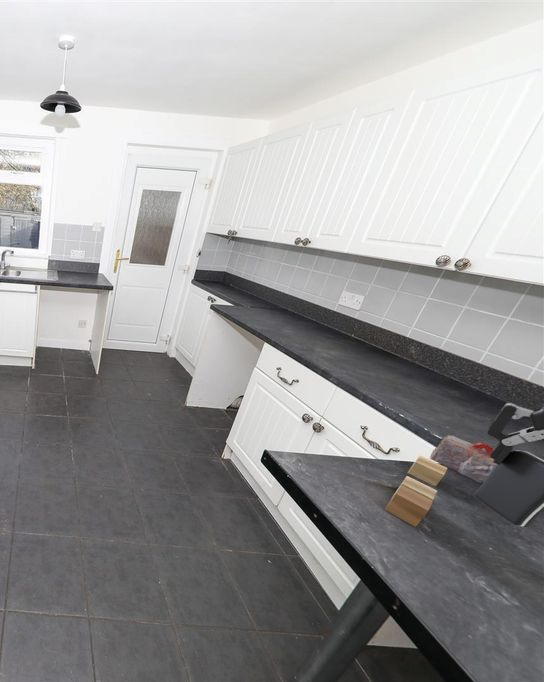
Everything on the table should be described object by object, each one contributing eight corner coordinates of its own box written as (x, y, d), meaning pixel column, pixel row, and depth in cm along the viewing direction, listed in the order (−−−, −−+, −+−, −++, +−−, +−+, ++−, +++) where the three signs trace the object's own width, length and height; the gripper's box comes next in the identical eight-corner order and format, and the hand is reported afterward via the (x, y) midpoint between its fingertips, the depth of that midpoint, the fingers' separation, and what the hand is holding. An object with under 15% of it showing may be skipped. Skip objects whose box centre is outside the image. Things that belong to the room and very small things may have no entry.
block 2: (396, 491, 81) (407, 475, 79) (425, 506, 77) (437, 490, 75) (390, 499, 78) (402, 483, 76) (421, 515, 74) (433, 499, 72)
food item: (505, 487, 86) (532, 458, 82) (501, 499, 82) (529, 468, 78) (430, 454, 96) (450, 426, 93) (423, 462, 92) (444, 434, 89)
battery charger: (541, 532, 54) (594, 480, 50) (515, 527, 55) (565, 475, 50) (492, 497, 61) (535, 448, 56) (469, 493, 61) (510, 445, 56)
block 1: (409, 469, 89) (419, 455, 87) (436, 482, 85) (447, 467, 83) (404, 476, 86) (415, 461, 84) (432, 490, 82) (444, 474, 81)
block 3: (390, 500, 78) (401, 485, 76) (420, 517, 74) (433, 501, 72) (384, 509, 75) (396, 493, 73) (415, 527, 71) (428, 510, 69)
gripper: (706, 411, 45) (610, 500, 51) (529, 365, 56) (468, 443, 62) (721, 427, 41) (616, 520, 47) (527, 374, 52) (463, 456, 58)
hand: (532, 476), depth 55 cm, fingers closed on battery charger, 7 cm apart
